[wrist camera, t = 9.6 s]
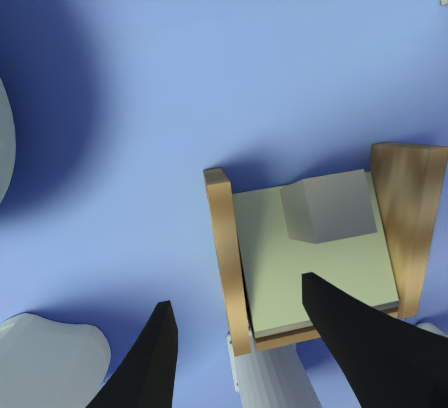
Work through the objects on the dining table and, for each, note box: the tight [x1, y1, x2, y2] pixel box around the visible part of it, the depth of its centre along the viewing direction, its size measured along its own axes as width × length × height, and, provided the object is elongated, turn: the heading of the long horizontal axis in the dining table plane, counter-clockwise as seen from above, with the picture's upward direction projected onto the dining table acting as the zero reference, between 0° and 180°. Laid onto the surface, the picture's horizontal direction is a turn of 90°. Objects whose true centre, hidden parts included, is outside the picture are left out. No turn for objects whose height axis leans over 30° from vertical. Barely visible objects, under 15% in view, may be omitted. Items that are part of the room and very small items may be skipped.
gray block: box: [279, 169, 377, 244], centre depth 18 cm, size 4×4×5 cm
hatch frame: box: [203, 142, 448, 357], centre depth 20 cm, size 15×17×6 cm
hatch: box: [232, 171, 400, 338], centre depth 20 cm, size 12×13×1 cm
